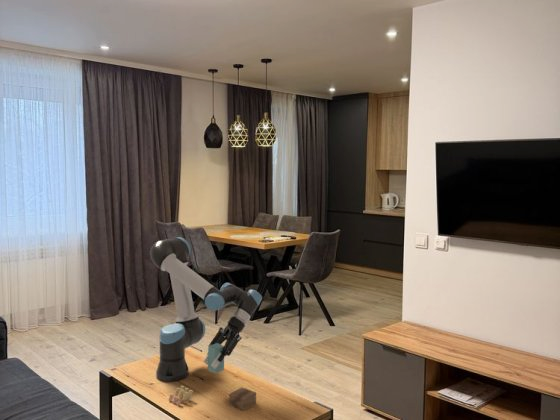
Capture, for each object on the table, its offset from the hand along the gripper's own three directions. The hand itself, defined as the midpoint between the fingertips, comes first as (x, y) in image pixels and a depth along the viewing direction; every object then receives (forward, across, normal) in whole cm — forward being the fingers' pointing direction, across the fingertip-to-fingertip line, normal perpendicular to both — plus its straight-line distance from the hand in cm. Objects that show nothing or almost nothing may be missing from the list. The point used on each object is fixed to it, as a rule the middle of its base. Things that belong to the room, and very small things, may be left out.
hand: (209, 364), depth 213 cm
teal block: (0, 0, -5) cm, 5 cm away
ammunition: (+18, +4, -1) cm, 19 cm away
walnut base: (+6, -17, -13) cm, 22 cm away
